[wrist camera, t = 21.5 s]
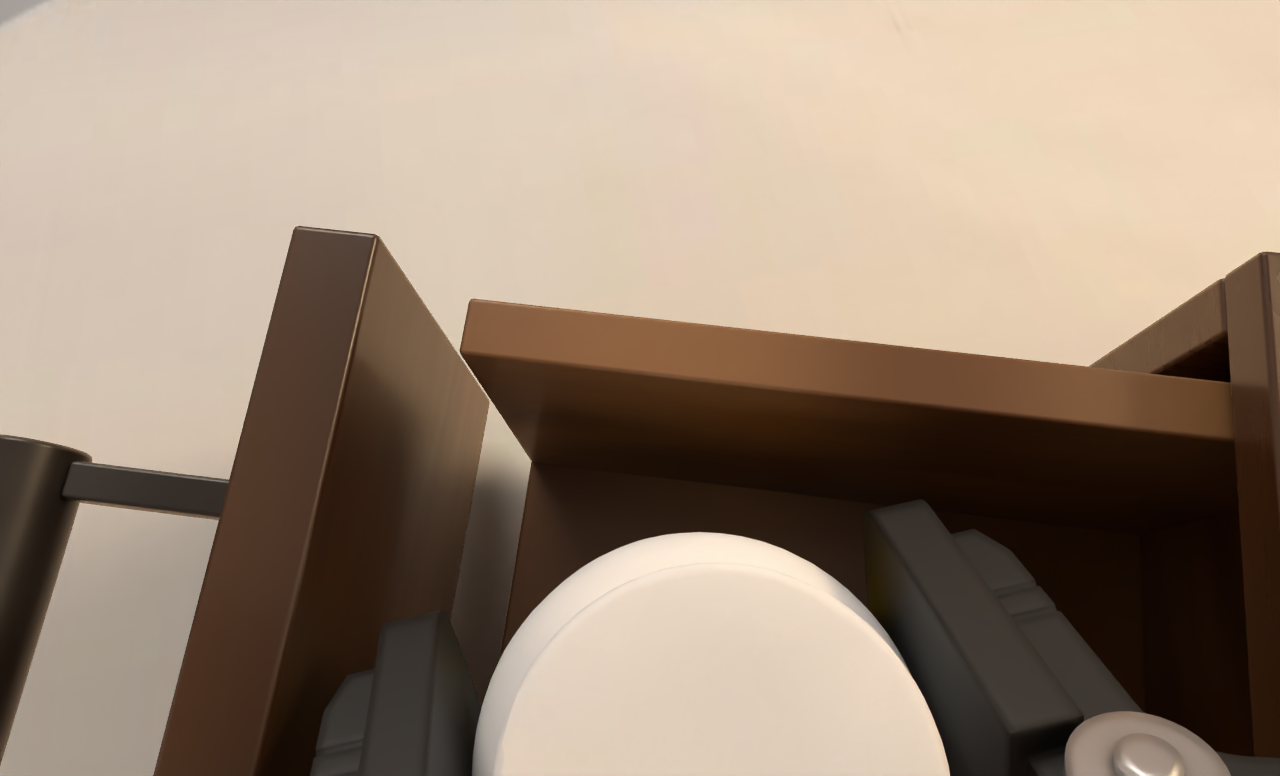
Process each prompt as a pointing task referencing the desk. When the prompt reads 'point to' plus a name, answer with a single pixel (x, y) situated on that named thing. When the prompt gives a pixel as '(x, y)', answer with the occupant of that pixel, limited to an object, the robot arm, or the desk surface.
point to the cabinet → (1237, 441)
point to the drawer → (637, 490)
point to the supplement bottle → (704, 673)
